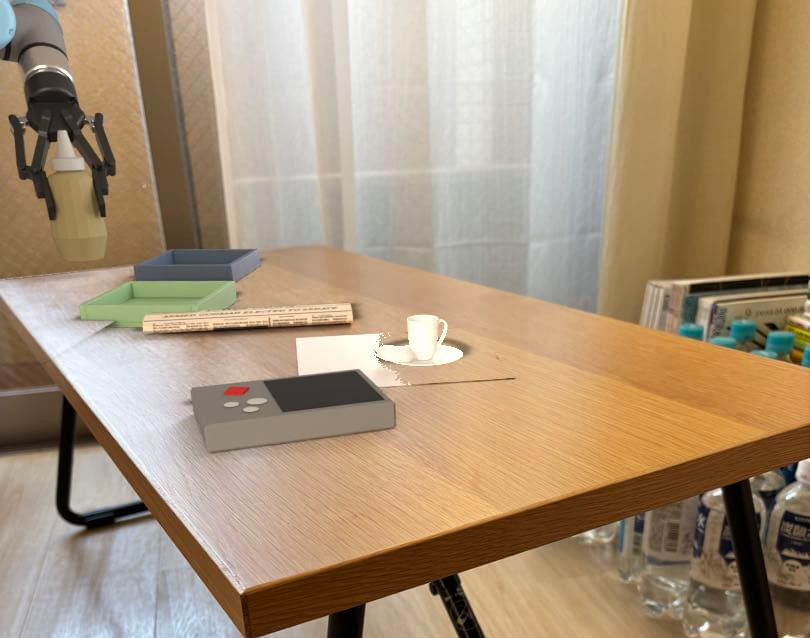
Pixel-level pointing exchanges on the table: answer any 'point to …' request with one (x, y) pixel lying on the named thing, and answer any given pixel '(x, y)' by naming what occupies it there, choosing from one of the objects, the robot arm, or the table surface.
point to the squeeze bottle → (75, 207)
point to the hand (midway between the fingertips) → (77, 212)
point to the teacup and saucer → (360, 352)
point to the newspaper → (247, 318)
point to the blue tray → (198, 265)
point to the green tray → (157, 300)
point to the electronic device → (290, 409)
